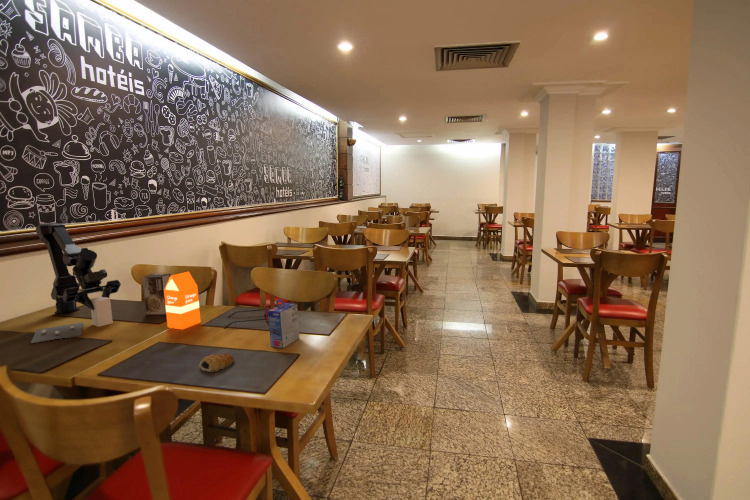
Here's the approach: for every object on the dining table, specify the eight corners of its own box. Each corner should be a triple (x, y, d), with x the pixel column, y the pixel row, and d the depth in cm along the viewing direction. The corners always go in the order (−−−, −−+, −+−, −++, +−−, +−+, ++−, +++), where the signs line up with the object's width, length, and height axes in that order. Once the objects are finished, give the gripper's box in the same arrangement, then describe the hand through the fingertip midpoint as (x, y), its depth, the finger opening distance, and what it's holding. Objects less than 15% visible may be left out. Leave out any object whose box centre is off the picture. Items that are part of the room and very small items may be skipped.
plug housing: (92, 324, 159) (89, 299, 158) (106, 321, 163) (103, 296, 162) (98, 326, 157) (95, 301, 155) (112, 323, 161) (109, 298, 159)
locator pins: (42, 334, 148) (41, 330, 147) (74, 328, 153) (74, 325, 152) (40, 338, 143) (39, 334, 143) (73, 332, 148) (73, 328, 148)
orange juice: (167, 327, 155) (162, 275, 152) (185, 320, 163) (181, 270, 160) (182, 329, 152) (178, 276, 149) (201, 322, 160) (196, 271, 157)
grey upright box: (175, 310, 177) (171, 273, 174) (166, 314, 170) (162, 276, 168) (155, 309, 178) (151, 273, 175) (145, 314, 171) (141, 276, 169)
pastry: (224, 358, 126) (223, 346, 125) (239, 363, 122) (238, 350, 122) (197, 369, 118) (196, 357, 117) (212, 375, 114) (211, 362, 114)
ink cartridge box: (286, 336, 143) (284, 295, 141) (300, 338, 141) (298, 297, 139) (269, 346, 134) (266, 303, 132) (283, 348, 132) (281, 304, 130)
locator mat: (37, 331, 153) (36, 329, 152) (83, 324, 160) (82, 322, 160) (30, 344, 139) (30, 342, 139) (81, 335, 147) (81, 334, 147)
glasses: (269, 325, 156) (268, 312, 155) (223, 329, 152) (222, 316, 151) (269, 314, 169) (269, 303, 168) (227, 318, 165) (226, 306, 164)
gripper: (61, 267, 151) (78, 301, 147) (115, 260, 167) (132, 289, 162) (55, 286, 157) (71, 318, 152) (108, 277, 172) (124, 306, 168)
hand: (101, 307), depth 159 cm, fingers closed on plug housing, 5 cm apart
